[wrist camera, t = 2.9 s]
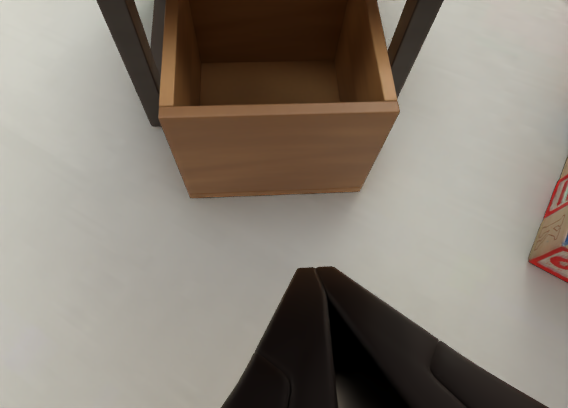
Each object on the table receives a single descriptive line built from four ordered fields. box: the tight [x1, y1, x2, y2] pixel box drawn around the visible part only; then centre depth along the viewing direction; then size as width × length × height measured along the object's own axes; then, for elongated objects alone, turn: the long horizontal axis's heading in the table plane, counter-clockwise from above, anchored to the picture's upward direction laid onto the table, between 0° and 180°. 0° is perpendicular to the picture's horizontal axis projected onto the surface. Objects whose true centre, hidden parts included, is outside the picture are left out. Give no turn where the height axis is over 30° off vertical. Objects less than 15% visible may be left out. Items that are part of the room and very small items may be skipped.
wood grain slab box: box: [158, 0, 400, 198], centre depth 23 cm, size 10×10×8 cm
